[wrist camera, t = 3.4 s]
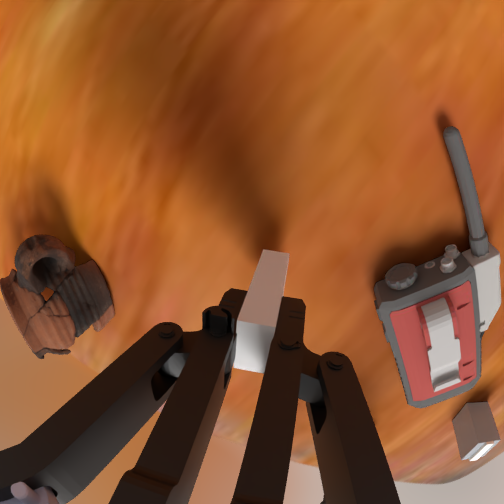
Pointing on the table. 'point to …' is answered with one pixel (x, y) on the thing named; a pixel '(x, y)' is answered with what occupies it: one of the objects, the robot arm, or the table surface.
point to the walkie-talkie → (443, 304)
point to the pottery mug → (54, 295)
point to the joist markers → (475, 430)
